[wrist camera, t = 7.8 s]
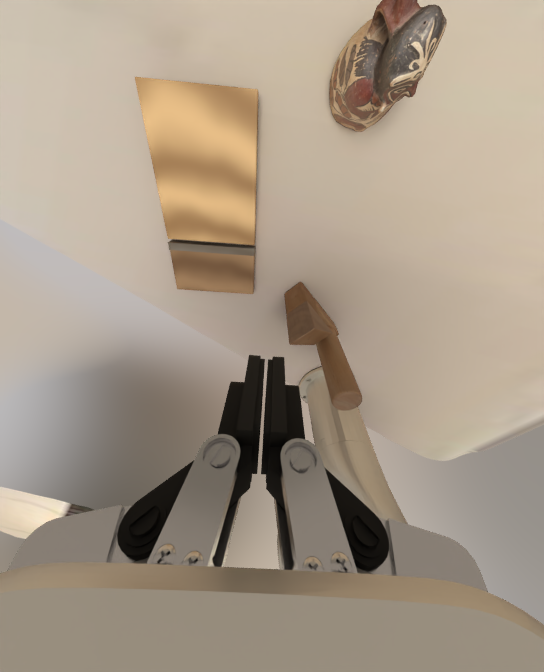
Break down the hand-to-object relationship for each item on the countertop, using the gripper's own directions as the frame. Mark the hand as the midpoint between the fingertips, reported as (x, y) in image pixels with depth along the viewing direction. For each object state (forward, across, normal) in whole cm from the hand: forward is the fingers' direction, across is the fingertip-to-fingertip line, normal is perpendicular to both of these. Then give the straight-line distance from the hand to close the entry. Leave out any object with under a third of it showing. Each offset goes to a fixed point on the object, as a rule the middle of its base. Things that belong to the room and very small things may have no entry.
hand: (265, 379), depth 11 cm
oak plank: (+26, +9, -9) cm, 29 cm away
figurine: (+27, -8, -18) cm, 33 cm away
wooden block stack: (+28, -7, +9) cm, 30 cm away
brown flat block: (+27, +9, +2) cm, 29 cm away
